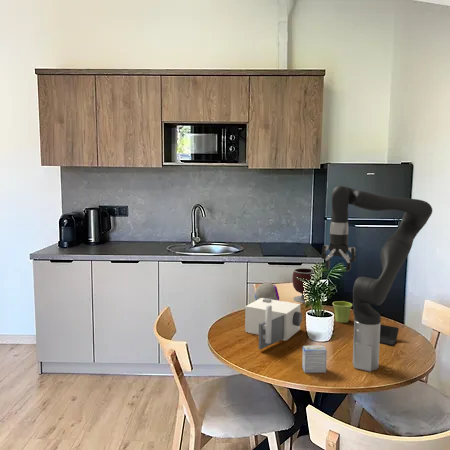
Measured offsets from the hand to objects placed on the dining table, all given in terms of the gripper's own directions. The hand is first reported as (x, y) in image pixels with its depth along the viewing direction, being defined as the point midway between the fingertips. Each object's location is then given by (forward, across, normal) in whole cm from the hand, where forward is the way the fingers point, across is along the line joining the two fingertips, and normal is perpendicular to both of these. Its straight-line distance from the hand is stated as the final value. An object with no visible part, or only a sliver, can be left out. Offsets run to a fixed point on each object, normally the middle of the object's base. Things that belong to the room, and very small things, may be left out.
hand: (337, 270), depth 186 cm
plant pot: (+30, +4, -23) cm, 38 cm away
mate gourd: (+30, +32, -48) cm, 65 cm away
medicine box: (+30, -3, +36) cm, 47 cm away
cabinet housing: (+30, +27, +7) cm, 41 cm away
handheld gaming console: (+31, -18, -8) cm, 36 cm away
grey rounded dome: (+30, +42, -18) cm, 55 cm away
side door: (+29, +18, +24) cm, 42 cm away
